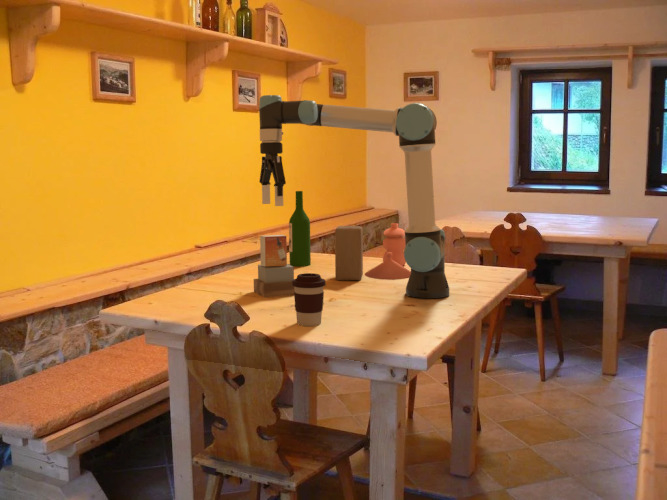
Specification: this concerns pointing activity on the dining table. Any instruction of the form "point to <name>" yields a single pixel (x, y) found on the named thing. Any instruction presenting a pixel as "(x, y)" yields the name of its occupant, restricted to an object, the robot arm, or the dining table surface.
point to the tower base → (273, 288)
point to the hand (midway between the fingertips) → (272, 205)
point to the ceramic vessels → (392, 257)
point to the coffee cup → (308, 298)
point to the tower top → (276, 273)
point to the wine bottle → (299, 235)
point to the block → (348, 253)
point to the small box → (273, 250)
